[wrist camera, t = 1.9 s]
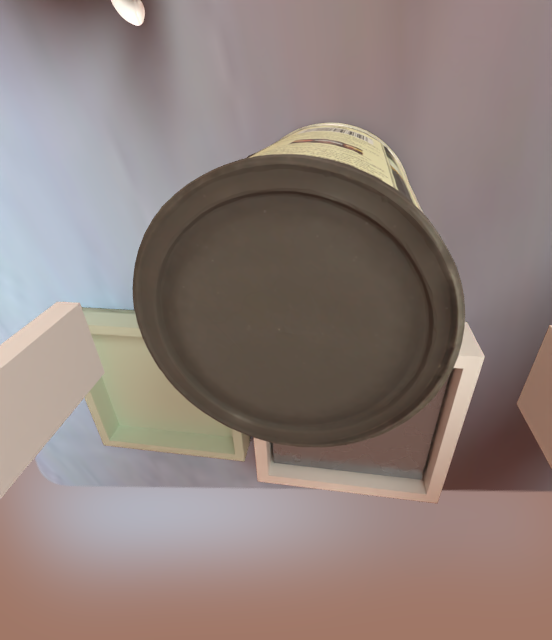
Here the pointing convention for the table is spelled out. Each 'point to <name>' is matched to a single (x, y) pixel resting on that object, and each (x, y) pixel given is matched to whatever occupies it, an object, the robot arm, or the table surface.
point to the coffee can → (301, 292)
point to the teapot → (130, 10)
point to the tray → (148, 398)
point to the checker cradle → (388, 486)
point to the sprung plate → (375, 448)
